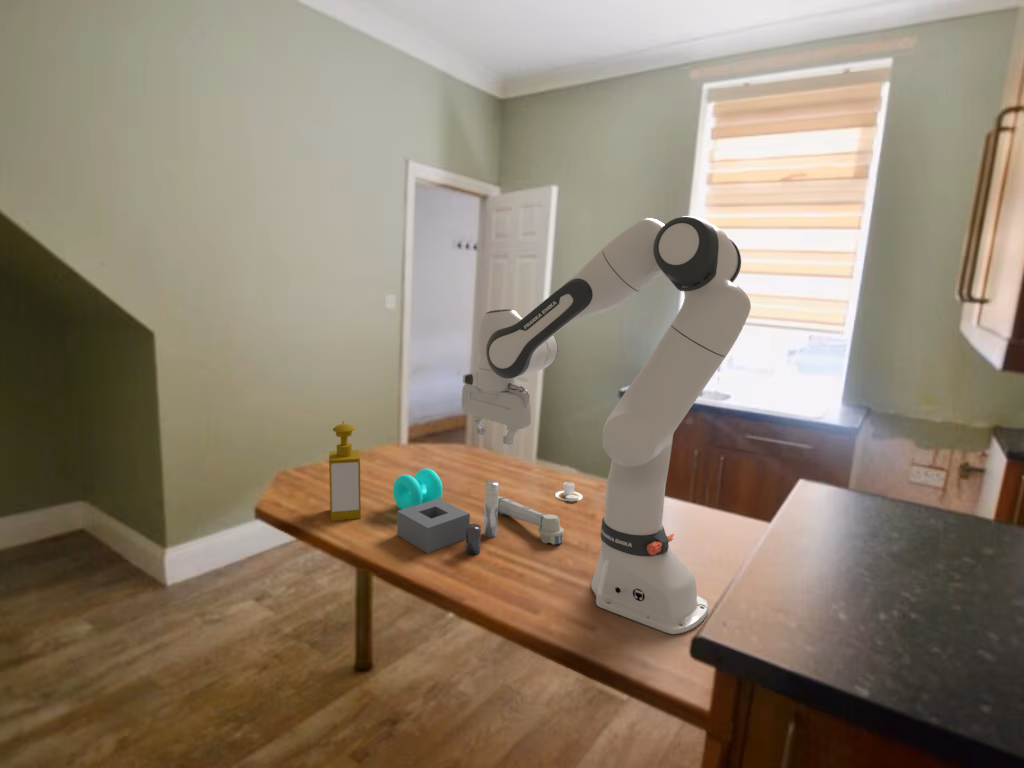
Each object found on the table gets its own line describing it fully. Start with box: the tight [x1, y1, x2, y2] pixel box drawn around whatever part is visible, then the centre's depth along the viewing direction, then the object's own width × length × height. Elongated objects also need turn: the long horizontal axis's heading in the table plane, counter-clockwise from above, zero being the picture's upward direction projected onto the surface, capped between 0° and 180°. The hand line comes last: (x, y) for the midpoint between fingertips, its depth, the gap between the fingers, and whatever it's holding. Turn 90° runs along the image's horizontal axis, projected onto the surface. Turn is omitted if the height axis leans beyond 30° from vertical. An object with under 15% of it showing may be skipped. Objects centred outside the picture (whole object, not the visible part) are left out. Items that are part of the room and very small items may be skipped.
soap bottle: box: [328, 420, 362, 522], centre depth 142 cm, size 7×13×24 cm, turn 18°
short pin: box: [465, 523, 482, 557], centre depth 124 cm, size 3×3×6 cm
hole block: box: [396, 499, 471, 554], centre depth 130 cm, size 12×12×6 cm
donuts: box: [392, 467, 444, 510], centre depth 146 cm, size 10×10×10 cm
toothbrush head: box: [498, 495, 565, 545], centre depth 138 cm, size 5×7×25 cm
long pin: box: [483, 480, 500, 538], centre depth 132 cm, size 3×3×13 cm
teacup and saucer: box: [554, 481, 584, 502], centre depth 159 cm, size 9×8×4 cm
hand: (493, 439), depth 129 cm, fingers open, 8 cm apart
